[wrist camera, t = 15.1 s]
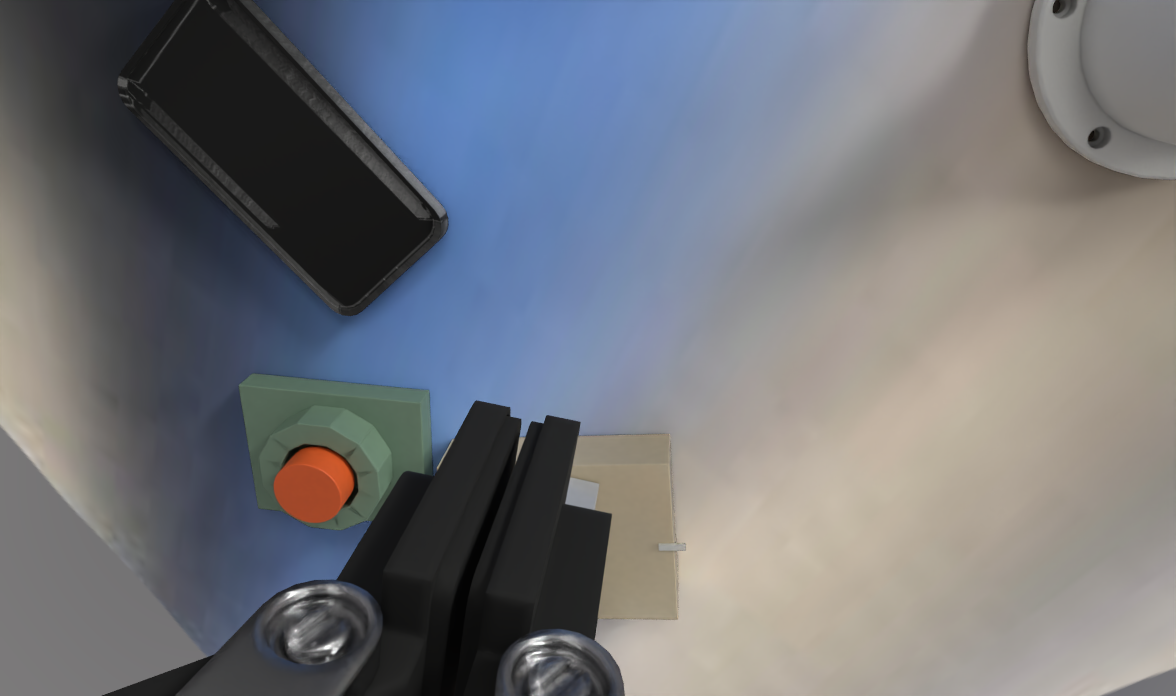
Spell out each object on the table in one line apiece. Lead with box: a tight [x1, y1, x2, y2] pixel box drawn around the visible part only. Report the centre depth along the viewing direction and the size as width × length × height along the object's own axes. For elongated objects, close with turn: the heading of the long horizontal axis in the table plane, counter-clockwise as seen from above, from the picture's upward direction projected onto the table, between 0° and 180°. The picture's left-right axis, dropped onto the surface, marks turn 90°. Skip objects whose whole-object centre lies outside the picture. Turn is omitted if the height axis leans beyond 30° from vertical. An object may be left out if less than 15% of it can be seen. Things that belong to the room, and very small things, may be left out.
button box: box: [239, 374, 433, 530], centre depth 41 cm, size 10×8×4 cm
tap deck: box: [437, 434, 686, 620], centre depth 41 cm, size 13×13×3 cm
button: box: [274, 446, 355, 523], centre depth 39 cm, size 4×4×2 cm
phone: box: [117, 0, 448, 316], centre depth 35 cm, size 8×1×15 cm
